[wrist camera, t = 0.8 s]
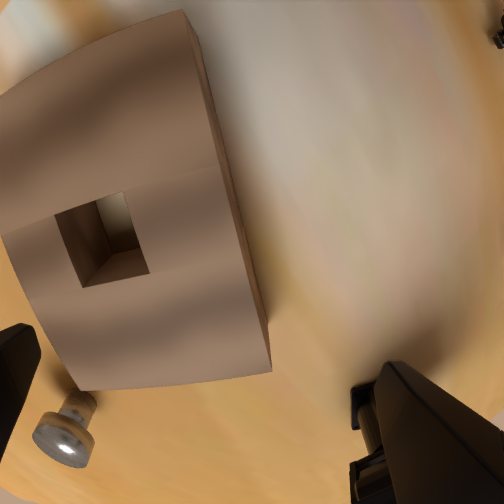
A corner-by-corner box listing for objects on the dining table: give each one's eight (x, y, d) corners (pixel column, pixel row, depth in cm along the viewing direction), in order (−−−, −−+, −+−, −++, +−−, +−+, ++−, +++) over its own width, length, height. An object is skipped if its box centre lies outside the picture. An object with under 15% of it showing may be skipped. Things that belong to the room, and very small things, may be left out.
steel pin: (116, 417, 27) (98, 471, 21) (76, 416, 28) (55, 464, 21) (90, 379, 25) (63, 434, 19) (49, 380, 26) (21, 428, 19)
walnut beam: (267, 325, 23) (272, 371, 18) (102, 350, 24) (80, 390, 19) (197, 36, 16) (181, 9, 11) (16, 114, 17) (-30, 118, 12)
